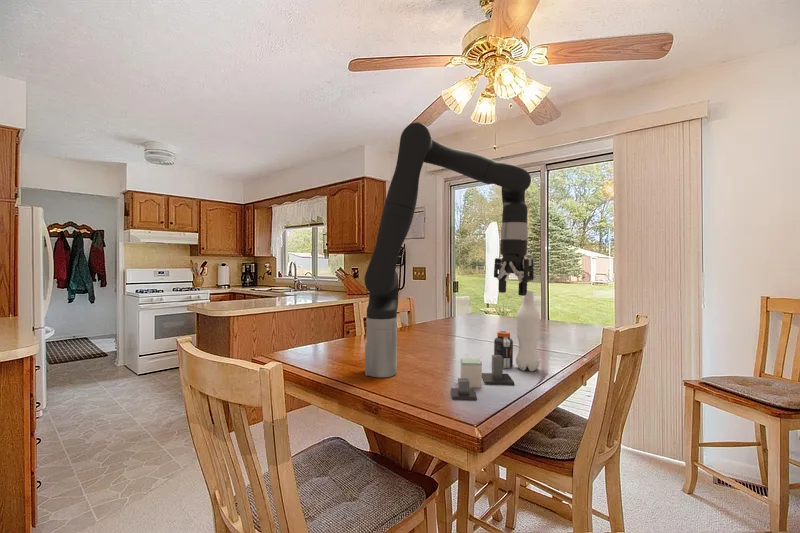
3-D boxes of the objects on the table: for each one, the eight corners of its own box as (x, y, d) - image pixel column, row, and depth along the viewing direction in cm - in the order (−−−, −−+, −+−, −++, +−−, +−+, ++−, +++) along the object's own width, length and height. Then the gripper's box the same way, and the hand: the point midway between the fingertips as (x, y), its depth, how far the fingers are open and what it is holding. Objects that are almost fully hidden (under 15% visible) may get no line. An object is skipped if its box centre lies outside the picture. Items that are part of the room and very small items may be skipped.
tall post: (485, 384, 105) (485, 359, 105) (480, 375, 113) (480, 352, 113) (514, 385, 104) (514, 360, 104) (507, 376, 112) (508, 353, 112)
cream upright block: (462, 387, 103) (462, 363, 102) (460, 380, 108) (460, 358, 108) (481, 387, 102) (481, 363, 102) (478, 381, 107) (478, 358, 107)
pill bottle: (513, 369, 120) (513, 333, 120) (494, 368, 121) (494, 333, 121) (511, 364, 126) (512, 330, 125) (493, 363, 127) (493, 329, 127)
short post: (452, 399, 93) (452, 383, 93) (450, 391, 99) (450, 376, 99) (476, 400, 93) (477, 384, 93) (473, 391, 99) (473, 376, 99)
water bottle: (514, 370, 118) (515, 291, 117) (516, 365, 124) (517, 289, 124) (539, 373, 115) (540, 292, 115) (539, 367, 122) (540, 290, 121)
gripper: (488, 239, 115) (486, 291, 115) (521, 237, 102) (519, 296, 102) (507, 240, 118) (505, 291, 118) (542, 238, 105) (539, 296, 105)
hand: (511, 294), depth 110 cm, fingers open, 8 cm apart
